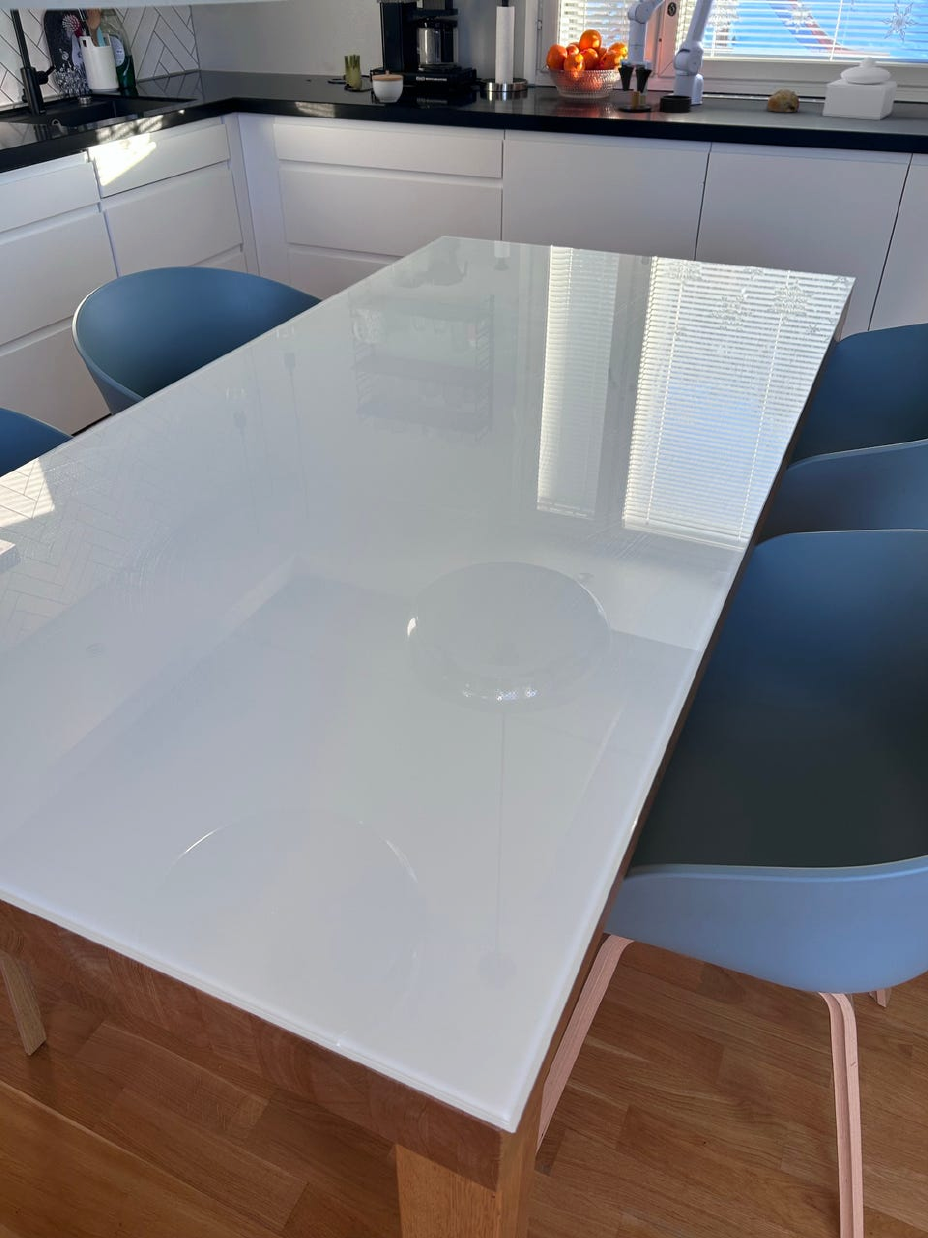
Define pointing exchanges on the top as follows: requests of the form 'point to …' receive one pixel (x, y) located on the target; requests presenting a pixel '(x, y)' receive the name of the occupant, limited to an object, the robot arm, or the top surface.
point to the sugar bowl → (388, 87)
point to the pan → (675, 104)
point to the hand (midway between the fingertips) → (632, 91)
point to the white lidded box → (861, 93)
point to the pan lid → (634, 104)
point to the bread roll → (783, 102)
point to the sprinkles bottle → (643, 95)
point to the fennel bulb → (353, 72)
